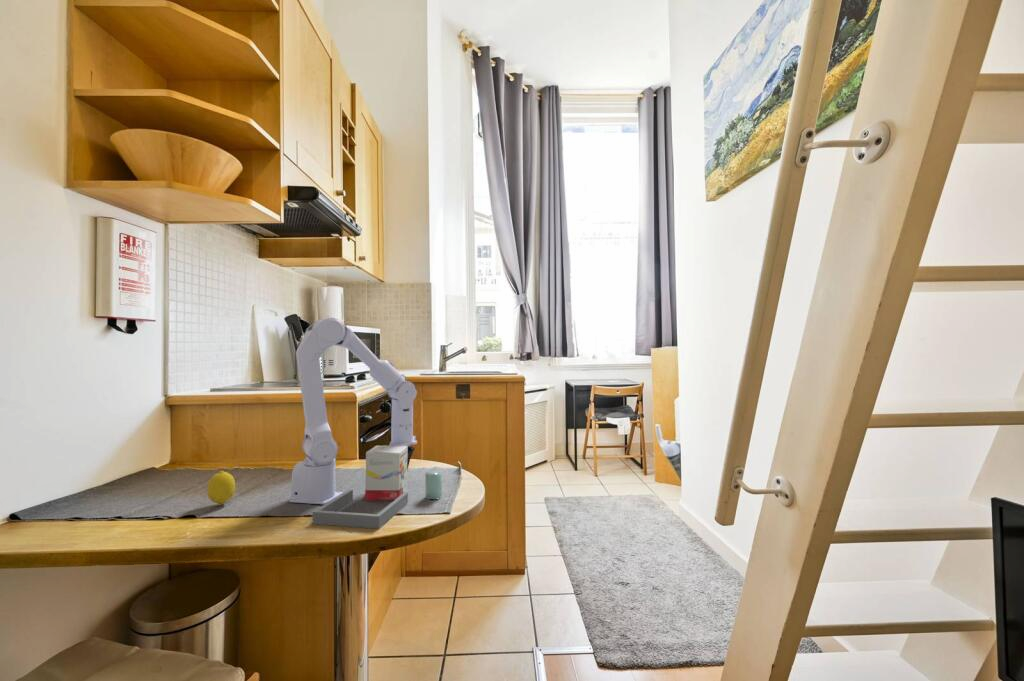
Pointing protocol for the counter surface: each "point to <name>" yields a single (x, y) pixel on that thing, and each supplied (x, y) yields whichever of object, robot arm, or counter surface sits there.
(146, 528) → the counter surface
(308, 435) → the robot arm
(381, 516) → the tray
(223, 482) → the lemon
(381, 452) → the ink box
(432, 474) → the teal ceramic jar
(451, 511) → the counter surface
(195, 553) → the counter surface
